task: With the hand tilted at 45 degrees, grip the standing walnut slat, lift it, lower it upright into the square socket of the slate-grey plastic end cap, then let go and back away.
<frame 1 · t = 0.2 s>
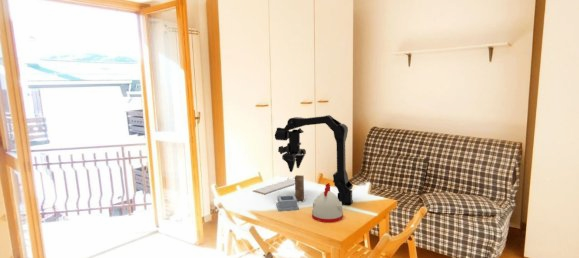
hand: (294, 169, 173), 15 cm above the table, tool pointing down, fingers open, 9 cm apart
end cap: (287, 206, 160), on the table
baseboard molding: (276, 187, 196), on the table
kitchen timer: (327, 217, 146), on the table
slat: (299, 200, 169), on the table
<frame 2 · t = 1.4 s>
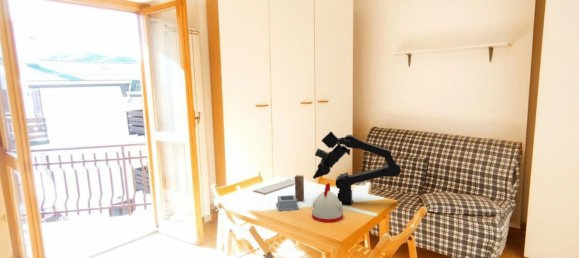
hand: (314, 175, 166), 13 cm above the table, tool tilted 45°, fingers open, 9 cm apart
nothing on the table moved.
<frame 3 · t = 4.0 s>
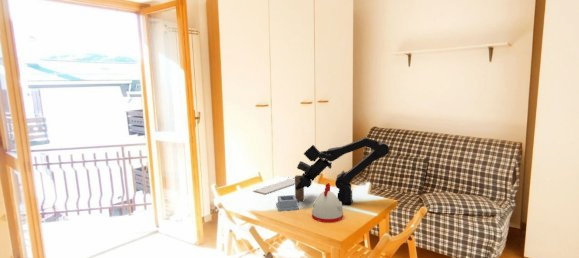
hand: (296, 188, 168), 7 cm above the table, tool tilted 45°, fingers closed on slat, 3 cm apart
slat: (299, 200, 169), on the table, touching gripper
everything else where it was.
when the fingers open (8 cm above the table, at t = 7.8 s): slat stays where it is, resting on end cap.
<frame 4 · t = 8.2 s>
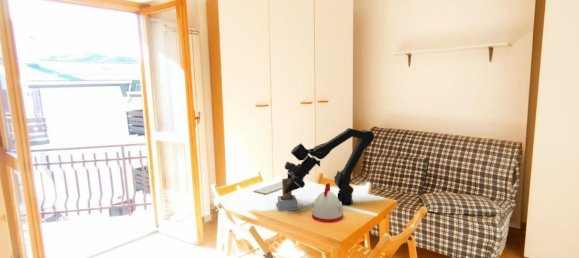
hand: (284, 190, 159), 9 cm above the table, tool tilted 45°, fingers open, 8 cm apart
slat: (287, 204, 160), point 1 cm above the table, touching end cap
everything else where it was.
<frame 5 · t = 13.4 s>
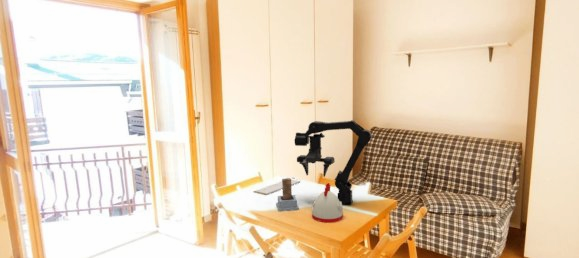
hand: (315, 176, 167), 13 cm above the table, tool pointing down, fingers open, 9 cm apart
nothing on the table moved.
at the end: slat 0.0 cm off-centre on the end cap, point 1.0 cm above the end cap's base; slat tilted 0°; the gripper is holding nothing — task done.
